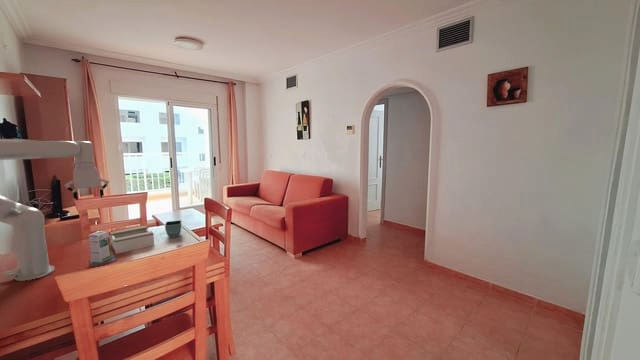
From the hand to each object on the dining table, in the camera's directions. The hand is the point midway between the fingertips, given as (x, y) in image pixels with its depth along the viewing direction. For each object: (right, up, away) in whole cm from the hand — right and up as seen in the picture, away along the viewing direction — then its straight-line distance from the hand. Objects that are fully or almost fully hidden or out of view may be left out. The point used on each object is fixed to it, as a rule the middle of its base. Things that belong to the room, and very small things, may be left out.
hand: (89, 198), depth 139 cm
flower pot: (+26, -27, +33) cm, 50 cm away
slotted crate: (+10, -29, +18) cm, 35 cm away
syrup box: (+9, -31, -2) cm, 33 cm away
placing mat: (+9, -32, -2) cm, 33 cm away
